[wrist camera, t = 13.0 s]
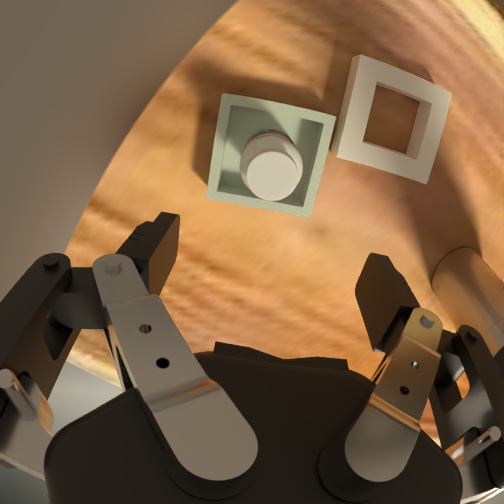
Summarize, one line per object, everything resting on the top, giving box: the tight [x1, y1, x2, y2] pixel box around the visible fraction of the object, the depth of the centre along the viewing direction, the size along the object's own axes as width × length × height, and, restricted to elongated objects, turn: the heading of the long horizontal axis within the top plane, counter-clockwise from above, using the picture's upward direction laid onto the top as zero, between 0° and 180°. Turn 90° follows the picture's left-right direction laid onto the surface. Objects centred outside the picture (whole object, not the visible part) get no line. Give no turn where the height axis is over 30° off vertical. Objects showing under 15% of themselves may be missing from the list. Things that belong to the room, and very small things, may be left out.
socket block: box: [331, 54, 452, 185], centre depth 27 cm, size 11×11×3 cm
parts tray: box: [206, 93, 336, 218], centre depth 30 cm, size 11×11×3 cm
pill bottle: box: [239, 128, 303, 201], centre depth 27 cm, size 5×5×10 cm
